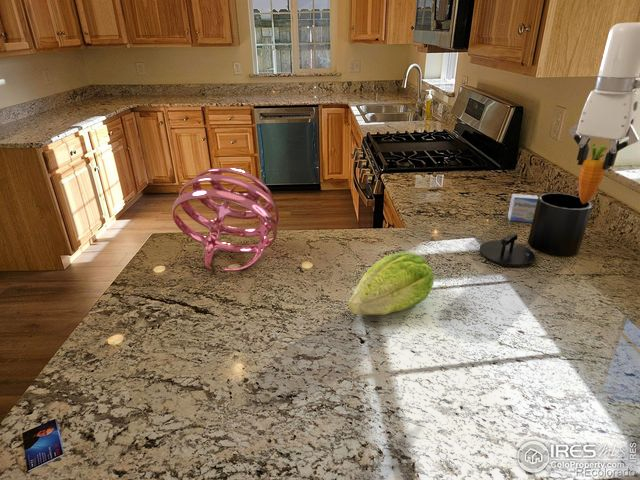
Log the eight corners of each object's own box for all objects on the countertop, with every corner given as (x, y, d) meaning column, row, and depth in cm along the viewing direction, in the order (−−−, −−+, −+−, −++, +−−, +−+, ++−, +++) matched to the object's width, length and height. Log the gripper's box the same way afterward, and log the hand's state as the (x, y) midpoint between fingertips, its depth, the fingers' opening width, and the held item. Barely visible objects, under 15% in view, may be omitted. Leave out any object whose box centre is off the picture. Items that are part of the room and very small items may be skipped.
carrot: (572, 199, 108) (587, 140, 102) (594, 202, 106) (611, 142, 100) (571, 205, 105) (587, 144, 98) (594, 208, 102) (612, 147, 96)
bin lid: (543, 256, 121) (548, 237, 118) (518, 273, 113) (522, 254, 110) (495, 239, 131) (499, 221, 129) (468, 254, 123) (471, 235, 120)
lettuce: (326, 283, 98) (355, 278, 86) (396, 248, 108) (431, 240, 96) (348, 334, 98) (380, 337, 86) (416, 295, 108) (454, 292, 96)
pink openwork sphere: (229, 231, 91) (255, 137, 105) (132, 242, 102) (167, 155, 116) (286, 285, 113) (302, 202, 126) (201, 289, 124) (224, 212, 137)
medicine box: (509, 221, 144) (514, 197, 140) (507, 216, 148) (512, 192, 144) (534, 223, 142) (540, 199, 138) (531, 218, 146) (537, 194, 142)
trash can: (586, 247, 126) (599, 201, 120) (566, 261, 118) (580, 213, 112) (540, 232, 136) (550, 189, 129) (519, 245, 128) (529, 199, 121)
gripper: (667, 86, 90) (640, 170, 98) (580, 81, 101) (562, 156, 109) (656, 90, 85) (629, 177, 93) (567, 84, 97) (550, 162, 105)
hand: (593, 165), depth 101 cm, fingers closed on carrot, 4 cm apart
